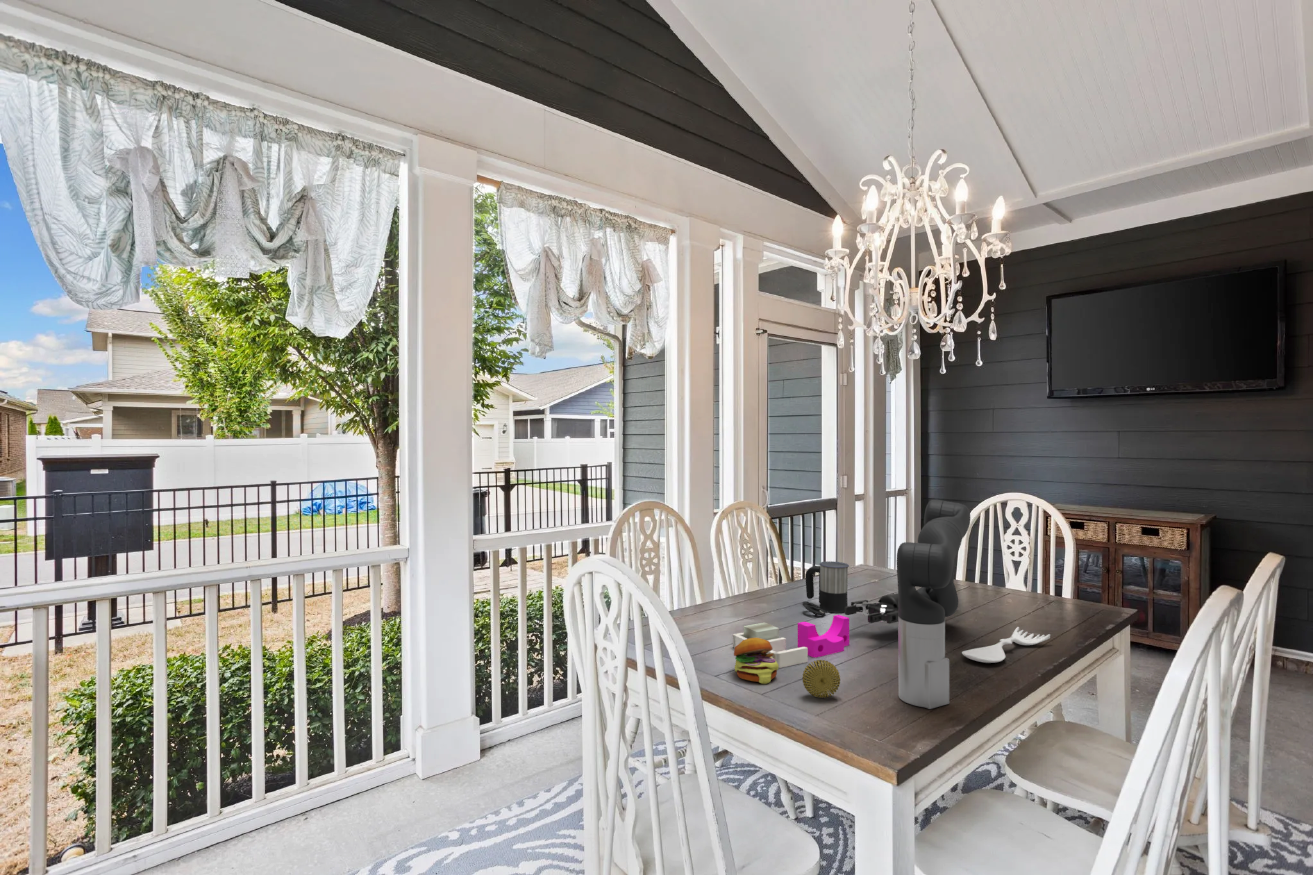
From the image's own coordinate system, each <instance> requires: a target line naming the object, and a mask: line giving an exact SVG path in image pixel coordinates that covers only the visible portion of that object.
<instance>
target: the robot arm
mask: <svg viewBox="0 0 1313 875" xmlns="http://www.w3.org/2000/svg"><path fill="white" fill-rule="evenodd" d="M970 524H971V512H970V509H969V508H968V506H967V505H966V504H963V503H959V502H953V501H948V500H947V501H945V500H942V499H931V500H929V501H928V503H927V504H926V507H925V510H924V517H923V526H922V528H921V529H920V531H919V533H918V537H917V542H911V541H909V542H907V541H906V542H905V541H904V542H902V543H900V545H899V546H898V548H897V552H896V576H897V593H891V594H887V595H886V594H885V595H883V596H881V597H880V598H879V600H878V601H872V602H871V601H870V602H869V600H868V599H863V600H856V601H851V602H850V605H848V606H847V607H845V612H844V615H845V616H851V615H855V614H860V615H861V614H862V616H864V617H865V616H866V617H867V623H868V624H873V623H879V622H880V623H886V624H889V625H890V624H895V623H898V626H897V627H898V629H897V630H898V633H897V635H898V640H897V641H898V642H897V643H898V644H897V646H898V648H897V649H898V650H897V651H898V653H897V654H898V656H897V657H898V658H897V660H898V663H897V664H898V668H897V670H898V671H897V672H898V698H899V699H900V700H901V701H903V702H904V703H907V704H909V705H911V706H916V707H921V708H926V709H928V710H932V709H935V708H938V707H942V706H945V705H949V704H950V659H949V658H948V657H946V618H948V617H951V616H952V615H954V614H955V613H956V611H957V609H958V607H959V596H958V592H957V588H956V585H955V582H954V580H955V570H956V568H955V566H956V565H955V560H956V559H955V558H956V557H957V554H958V552H959V550H960V548H961V545H962V541H963V539H964V538H965V536H966V535H967V533H968V531H969V528H970ZM916 587H919V588H918V589H916ZM867 610H868V611H867Z"/></svg>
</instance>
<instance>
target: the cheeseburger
mask: <svg viewBox="0 0 1313 875" xmlns="http://www.w3.org/2000/svg"><path fill="white" fill-rule="evenodd" d="M733 649H734V650H733V656H734V657H735V665H734V672H736V673H737V674H736V675H737V677H738V678H739V679H742V680H746V681H751V682H757V683H759V684H763V685H766V684H769V683H771V680H773V679H775V678H776V676H777V674H778V673H777V672H778V670H779V668H778V667H779V665H778V664H777V662H776V660H775V659H774V658H772V657H771V656H772V655H773V653H771V654H770V653H769V654H766V653H768V652H769V651H771V650H772V649H773V648H772V646H771V644H770V642H769V641H767V640H764V639H761V638H749V639H746V640H743V641H742V642H741V643H740V644H738V645H737V646H736V647H735V648H733Z"/></svg>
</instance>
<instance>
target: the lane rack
mask: <svg viewBox="0 0 1313 875" xmlns="http://www.w3.org/2000/svg"><path fill="white" fill-rule="evenodd" d="M746 639H747V638H745V637H744V632H738V633H733V634H732V648H733V647H734V648H733V649H735V647H736V646H737V645H738V644H740V643H741V642H742V641H743V640H746ZM767 641H769V642H770V644H771V646H772V648H773V649H772V650H771V651H769V652H768V653H766V654H769V653H770V654H771V653H773V655H772V656H771V657H772V658H774V659H775V660H776V662H777V664H778V665H779V667H778V669H781V668H786V667H790V666H791V667H792V666H795V665H800V664H805V663H808V662H809V658H808V656H809V655H808V648H807V647H800V648H798V647H795V648H791V649H787V638H786V637H779V638H777V639H772V640H767Z"/></svg>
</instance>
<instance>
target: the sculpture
mask: <svg viewBox="0 0 1313 875" xmlns="http://www.w3.org/2000/svg"><path fill="white" fill-rule="evenodd" d="M802 672H803V673H802V684H803V687H804V689H805V690H806V691H807V693H808V694H810V695H811V696H813V697H815V698H818V699H823V698H824V699H825V698H829V697H831V696H832V695H834V694H835V693H836V692H837V690H839V687H840V685H841V676H840V672H839V670H838V669H837V667H836V666H835V665H834V663H832V662H830V661H828V660H826V659H825V660H824V659H816V660H814V661H811V662H810V663H808V665H806V667H805V668H804V670H803V671H802Z"/></svg>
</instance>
